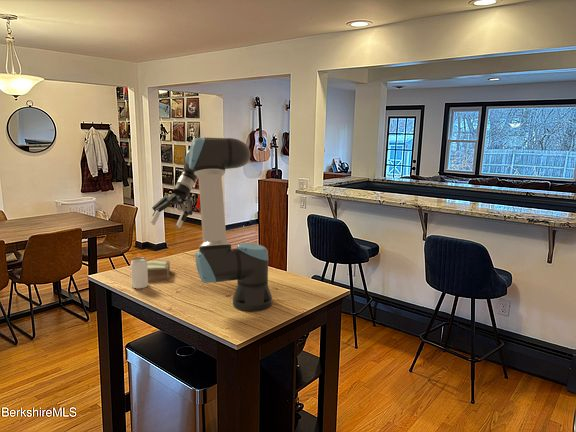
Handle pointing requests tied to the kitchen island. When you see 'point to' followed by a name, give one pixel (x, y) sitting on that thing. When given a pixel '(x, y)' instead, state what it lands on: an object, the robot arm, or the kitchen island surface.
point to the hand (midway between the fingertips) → (165, 225)
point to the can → (139, 273)
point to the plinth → (158, 270)
